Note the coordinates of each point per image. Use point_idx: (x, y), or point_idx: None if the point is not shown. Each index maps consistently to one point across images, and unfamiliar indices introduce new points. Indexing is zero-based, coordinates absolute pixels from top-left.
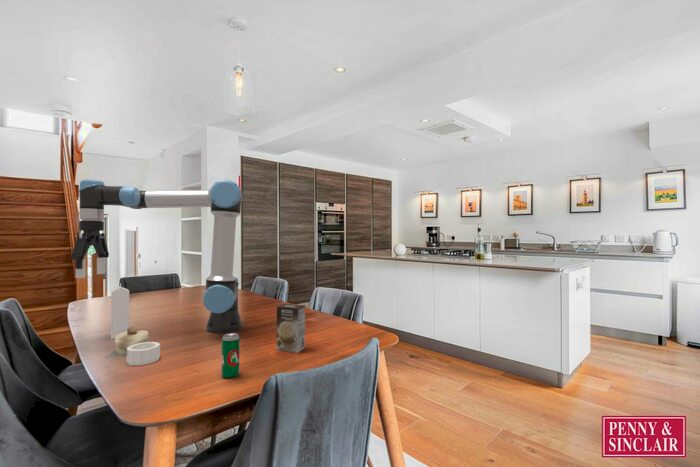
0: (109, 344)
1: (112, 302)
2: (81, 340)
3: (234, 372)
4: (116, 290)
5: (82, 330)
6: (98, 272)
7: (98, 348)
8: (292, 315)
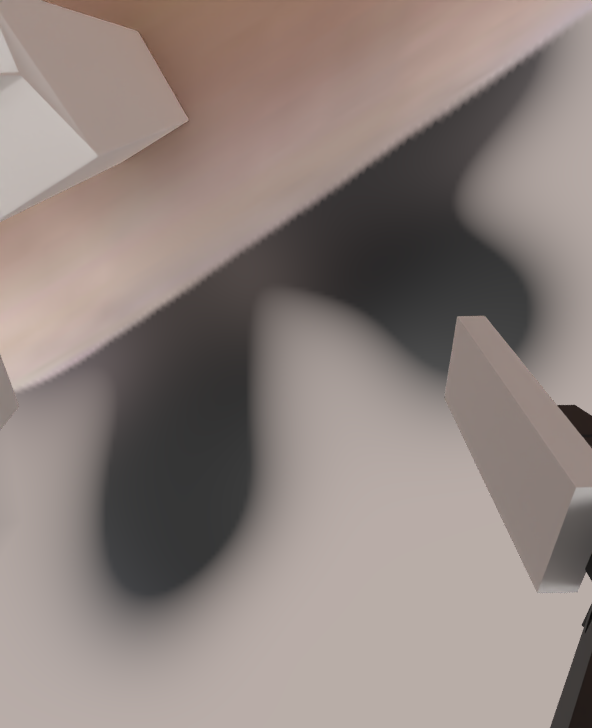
0: (276, 80)
1: (124, 139)
2: (192, 273)
3: None
4: (57, 120)
5: (26, 365)
6: (3, 402)
7: (341, 103)
8: None
